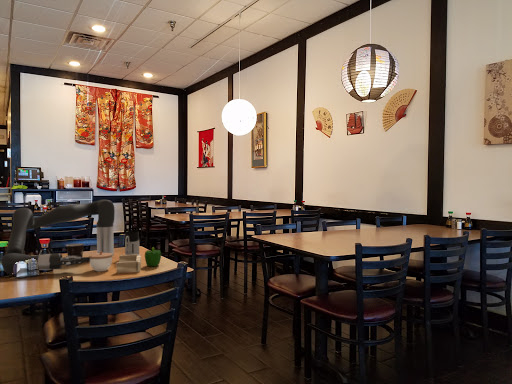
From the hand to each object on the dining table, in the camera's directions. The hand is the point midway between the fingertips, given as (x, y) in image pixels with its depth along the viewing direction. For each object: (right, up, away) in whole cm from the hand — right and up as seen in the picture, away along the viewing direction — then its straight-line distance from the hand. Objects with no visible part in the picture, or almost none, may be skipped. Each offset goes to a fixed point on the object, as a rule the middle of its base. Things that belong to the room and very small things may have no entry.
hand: (89, 259), depth 186 cm
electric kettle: (+10, -5, +30) cm, 32 cm away
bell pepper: (+28, -6, +12) cm, 31 cm away
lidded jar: (+5, -6, +3) cm, 8 cm away
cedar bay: (+17, -6, +7) cm, 19 cm away
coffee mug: (-16, -6, +17) cm, 24 cm away
